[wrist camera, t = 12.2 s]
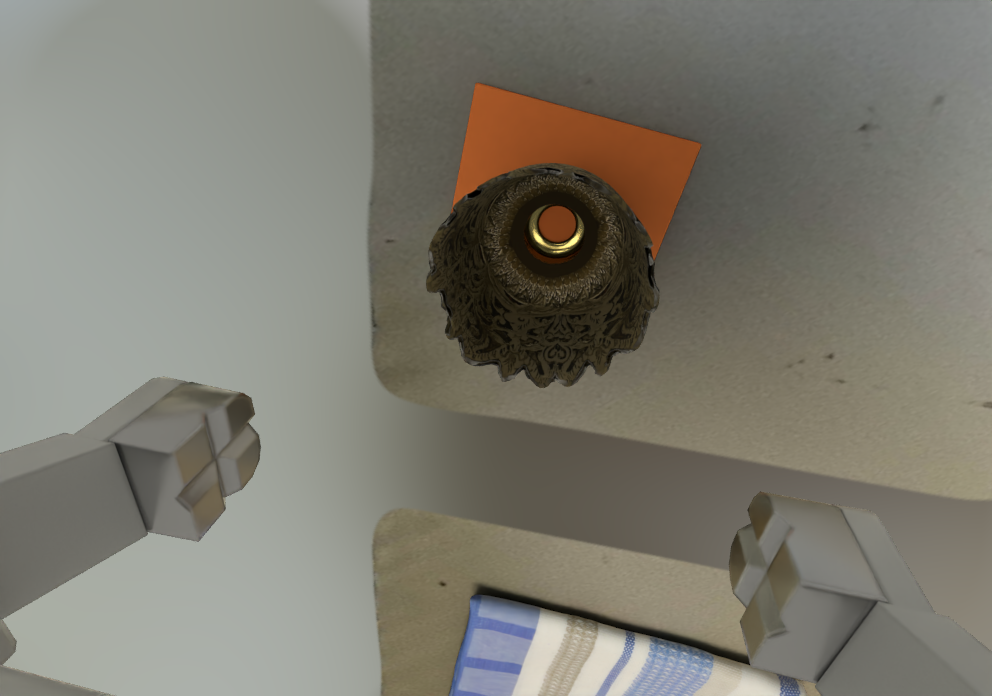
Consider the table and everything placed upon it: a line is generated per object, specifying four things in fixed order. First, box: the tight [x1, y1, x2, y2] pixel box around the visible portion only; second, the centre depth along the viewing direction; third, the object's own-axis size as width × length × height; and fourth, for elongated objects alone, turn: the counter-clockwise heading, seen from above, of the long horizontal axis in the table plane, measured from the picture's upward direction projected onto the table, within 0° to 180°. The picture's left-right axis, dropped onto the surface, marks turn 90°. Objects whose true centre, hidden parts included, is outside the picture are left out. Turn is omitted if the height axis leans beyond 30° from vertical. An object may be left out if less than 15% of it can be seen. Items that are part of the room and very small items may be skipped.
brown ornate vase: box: [426, 163, 659, 388], centre depth 20 cm, size 8×7×8 cm
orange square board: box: [451, 83, 701, 260], centre depth 24 cm, size 10×10×1 cm
